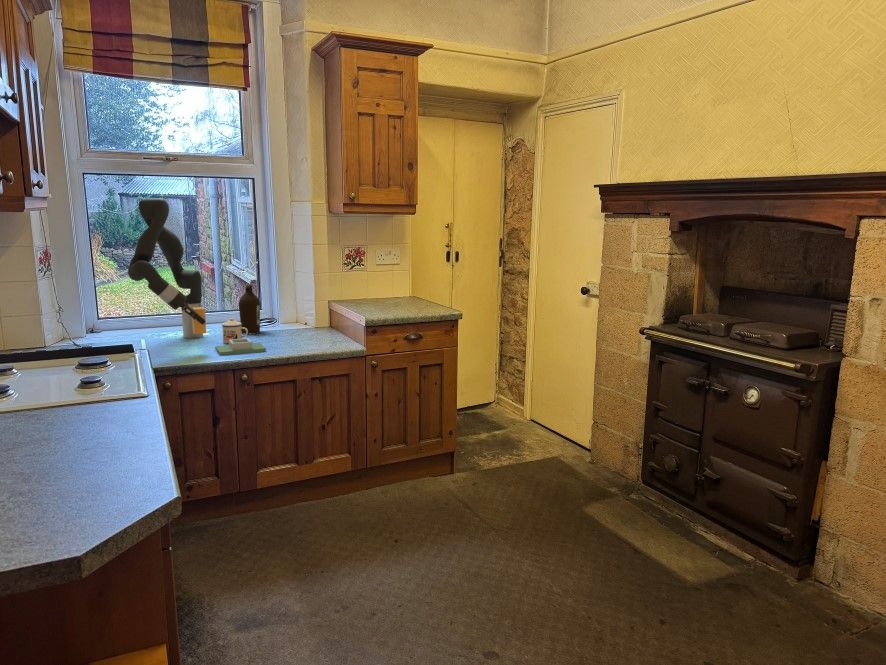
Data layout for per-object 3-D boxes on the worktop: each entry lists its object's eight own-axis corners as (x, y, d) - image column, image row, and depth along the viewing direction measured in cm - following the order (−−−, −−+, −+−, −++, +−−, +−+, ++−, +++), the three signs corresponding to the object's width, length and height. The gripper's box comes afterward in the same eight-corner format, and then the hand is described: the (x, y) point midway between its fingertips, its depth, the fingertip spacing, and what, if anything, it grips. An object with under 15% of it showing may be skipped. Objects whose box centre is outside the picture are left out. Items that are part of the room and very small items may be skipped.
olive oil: (238, 334, 311) (236, 286, 305) (241, 330, 321) (238, 283, 316) (260, 334, 313) (258, 286, 308) (261, 330, 323) (260, 283, 318)
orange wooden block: (192, 331, 271) (191, 307, 268) (204, 330, 273) (203, 306, 271) (194, 334, 266) (192, 309, 264) (206, 333, 269) (204, 308, 266)
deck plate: (215, 349, 279) (215, 339, 278) (259, 345, 288) (259, 336, 287) (219, 355, 268) (219, 345, 267) (265, 351, 277) (265, 341, 276)
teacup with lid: (220, 343, 290) (218, 319, 287) (226, 339, 299) (225, 316, 296) (245, 344, 290) (244, 320, 288) (250, 340, 299) (249, 317, 297)
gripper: (180, 292, 256) (211, 318, 264) (176, 287, 268) (207, 312, 276) (167, 305, 254) (199, 331, 263) (164, 300, 267) (195, 324, 275)
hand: (203, 321), depth 269 cm, fingers closed on orange wooden block, 5 cm apart
